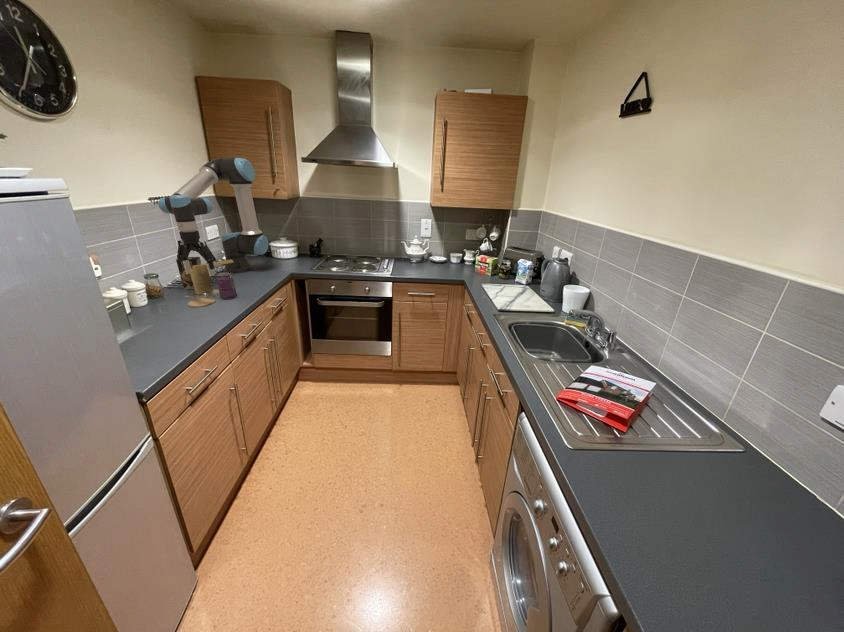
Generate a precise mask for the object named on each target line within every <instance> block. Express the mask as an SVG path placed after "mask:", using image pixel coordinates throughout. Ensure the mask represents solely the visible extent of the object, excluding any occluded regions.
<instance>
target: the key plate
mask: <svg viewBox="0 0 844 632" xmlns="http://www.w3.org/2000/svg"><path fill="white" fill-rule="evenodd" d="M216 296H220V293H219V289H216V288H215V289H214V288H213V291H211V292H206V293H202V294H196V293H195V291H194V292H191V293H189V294H186V295H184V298H186V299H193V300H195V299H199V298H214V297H216Z"/></svg>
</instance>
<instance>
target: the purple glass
mask: <svg viewBox="0 0 844 632" xmlns="http://www.w3.org/2000/svg"><path fill="white" fill-rule="evenodd" d="M215 276H216V278H215V280H216V284H217V290H219V293H220V294H219V296H220V297H219V298H221V299H223V300H230V299H234V298H236V297H237V296H238V295H237V289H236V285H235V280H234V277H233V275H232V273H229V272H226V271H225V272H220V273H217V274H216V273H215Z"/></svg>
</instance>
